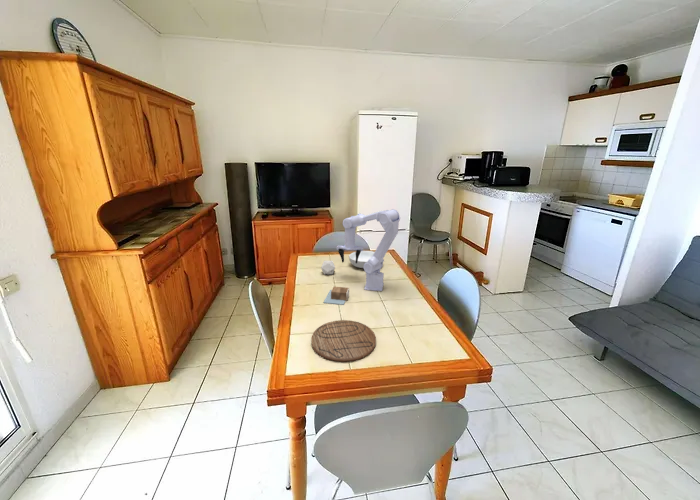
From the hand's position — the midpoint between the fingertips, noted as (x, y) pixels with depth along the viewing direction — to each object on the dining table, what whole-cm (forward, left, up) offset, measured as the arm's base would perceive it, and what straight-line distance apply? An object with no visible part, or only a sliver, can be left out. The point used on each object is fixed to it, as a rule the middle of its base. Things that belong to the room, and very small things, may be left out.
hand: (349, 262), depth 169 cm
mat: (+2, +23, -10) cm, 25 cm away
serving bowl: (-6, -23, -11) cm, 26 cm away
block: (-3, +23, -8) cm, 25 cm away
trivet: (-8, +58, -11) cm, 59 cm away
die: (+14, -6, -11) cm, 19 cm away
